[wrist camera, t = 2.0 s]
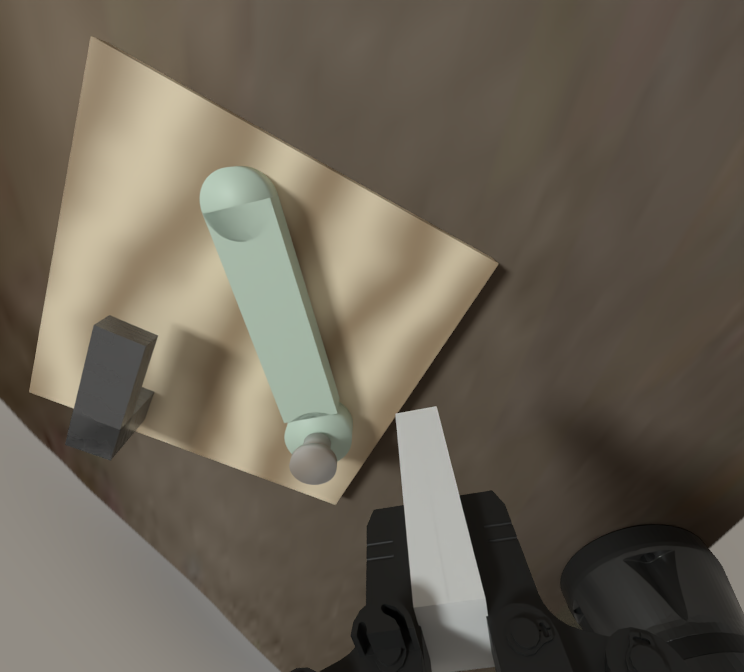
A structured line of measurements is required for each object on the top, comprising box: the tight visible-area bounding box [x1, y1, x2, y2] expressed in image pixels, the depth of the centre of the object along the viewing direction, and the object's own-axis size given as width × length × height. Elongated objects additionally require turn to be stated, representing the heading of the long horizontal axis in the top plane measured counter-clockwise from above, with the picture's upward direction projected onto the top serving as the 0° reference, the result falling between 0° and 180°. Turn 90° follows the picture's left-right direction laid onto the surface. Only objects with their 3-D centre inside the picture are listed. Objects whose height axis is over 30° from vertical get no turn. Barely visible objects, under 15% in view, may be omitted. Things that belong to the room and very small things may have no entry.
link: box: [200, 166, 353, 461], centre depth 26 cm, size 22×5×2 cm, turn 12°
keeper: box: [65, 315, 158, 460], centre depth 27 cm, size 3×10×4 cm, turn 152°
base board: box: [29, 36, 499, 505], centre depth 26 cm, size 26×25×7 cm
